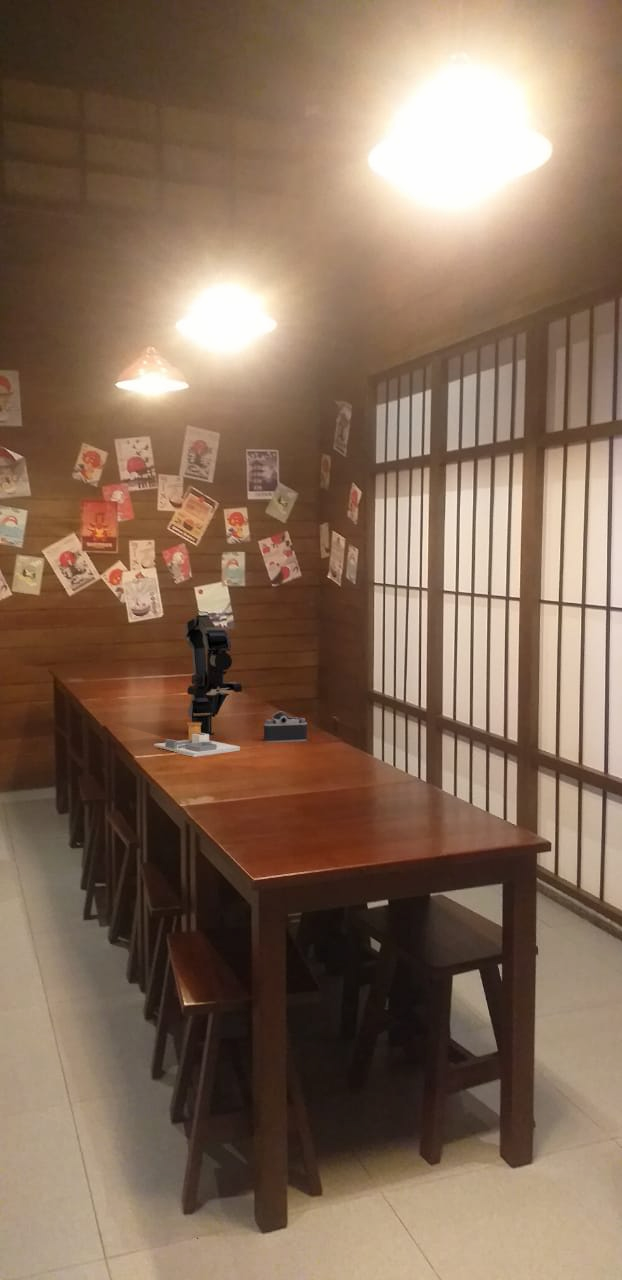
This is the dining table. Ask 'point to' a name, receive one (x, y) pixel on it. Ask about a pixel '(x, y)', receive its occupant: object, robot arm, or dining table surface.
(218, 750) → the board
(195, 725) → the cap
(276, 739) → the camera
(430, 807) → the dining table surface
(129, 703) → the dining table surface
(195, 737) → the block
